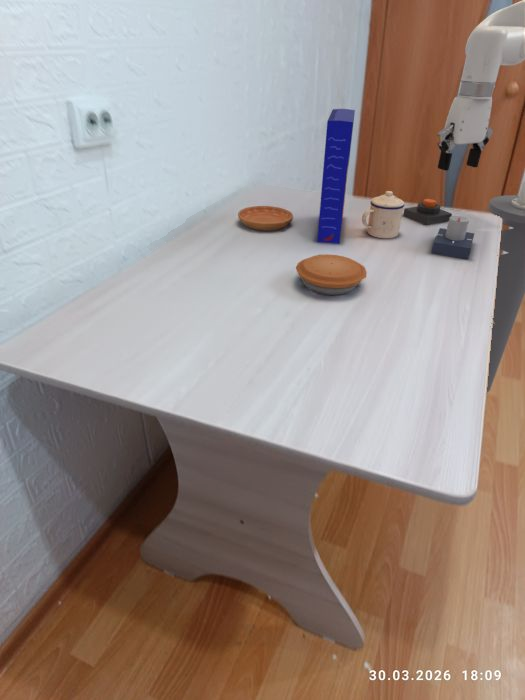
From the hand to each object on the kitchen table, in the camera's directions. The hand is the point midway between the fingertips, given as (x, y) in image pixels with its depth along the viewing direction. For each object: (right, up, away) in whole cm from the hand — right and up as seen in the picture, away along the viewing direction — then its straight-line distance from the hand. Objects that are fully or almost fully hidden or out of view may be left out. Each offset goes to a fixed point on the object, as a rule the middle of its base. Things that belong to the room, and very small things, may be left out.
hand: (457, 167), depth 120 cm
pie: (-34, -31, -13) cm, 48 cm away
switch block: (+2, -5, +28) cm, 28 cm away
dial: (+1, -16, +5) cm, 17 cm away
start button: (+2, -2, +26) cm, 26 cm away
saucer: (-48, -9, +20) cm, 53 cm away
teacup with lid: (-16, -13, +15) cm, 26 cm away
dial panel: (+1, -19, +7) cm, 20 cm away
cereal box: (-29, -11, +18) cm, 36 cm away
